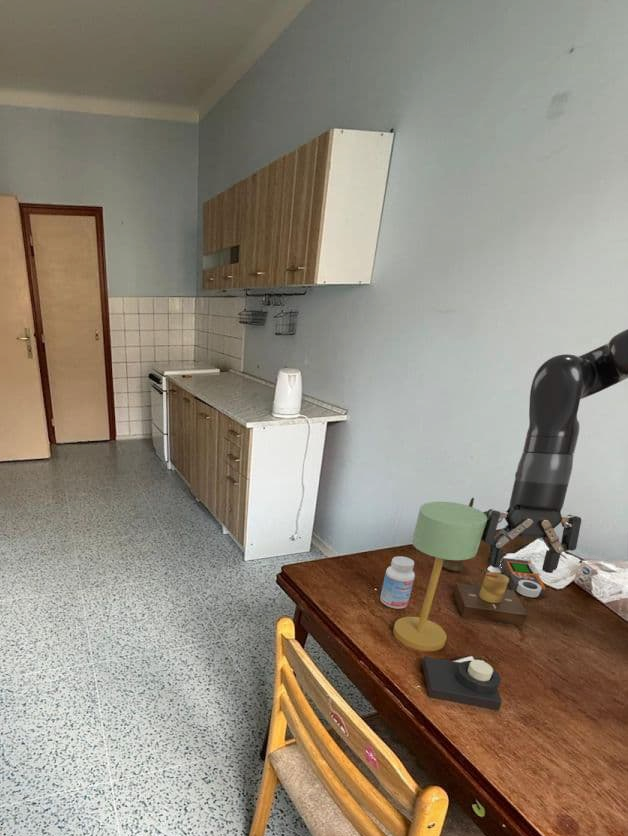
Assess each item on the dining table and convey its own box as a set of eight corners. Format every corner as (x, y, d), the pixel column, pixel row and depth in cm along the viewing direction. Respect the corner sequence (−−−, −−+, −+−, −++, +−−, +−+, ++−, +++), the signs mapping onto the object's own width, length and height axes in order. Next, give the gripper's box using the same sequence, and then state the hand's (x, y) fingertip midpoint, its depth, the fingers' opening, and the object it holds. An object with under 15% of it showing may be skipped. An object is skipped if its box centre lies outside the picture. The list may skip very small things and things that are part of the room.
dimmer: (509, 600, 111) (514, 589, 109) (523, 625, 102) (527, 614, 101) (453, 593, 114) (456, 582, 112) (461, 616, 106) (465, 605, 104)
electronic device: (518, 587, 111) (502, 555, 123) (513, 597, 113) (498, 565, 125) (551, 592, 109) (532, 559, 121) (546, 602, 111) (528, 568, 123)
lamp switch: (487, 669, 85) (490, 662, 85) (492, 683, 82) (495, 675, 82) (465, 665, 86) (467, 658, 86) (469, 679, 83) (472, 671, 83)
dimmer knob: (498, 594, 108) (506, 572, 105) (503, 604, 104) (512, 582, 101) (476, 591, 109) (484, 569, 106) (481, 601, 105) (489, 579, 103)
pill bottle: (393, 612, 108) (404, 570, 102) (374, 599, 112) (382, 557, 107) (413, 605, 110) (424, 564, 104) (393, 593, 115) (402, 552, 109)
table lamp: (442, 625, 103) (479, 504, 90) (452, 657, 94) (494, 528, 80) (388, 617, 106) (416, 499, 93) (392, 647, 97) (424, 521, 83)
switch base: (487, 676, 89) (493, 660, 87) (500, 711, 81) (507, 694, 80) (422, 665, 92) (426, 649, 90) (428, 697, 85) (434, 681, 83)
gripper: (504, 479, 80) (485, 570, 84) (602, 484, 77) (577, 579, 81) (487, 475, 87) (469, 560, 91) (576, 480, 84) (554, 567, 88)
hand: (520, 569), depth 86 cm, fingers open, 8 cm apart
